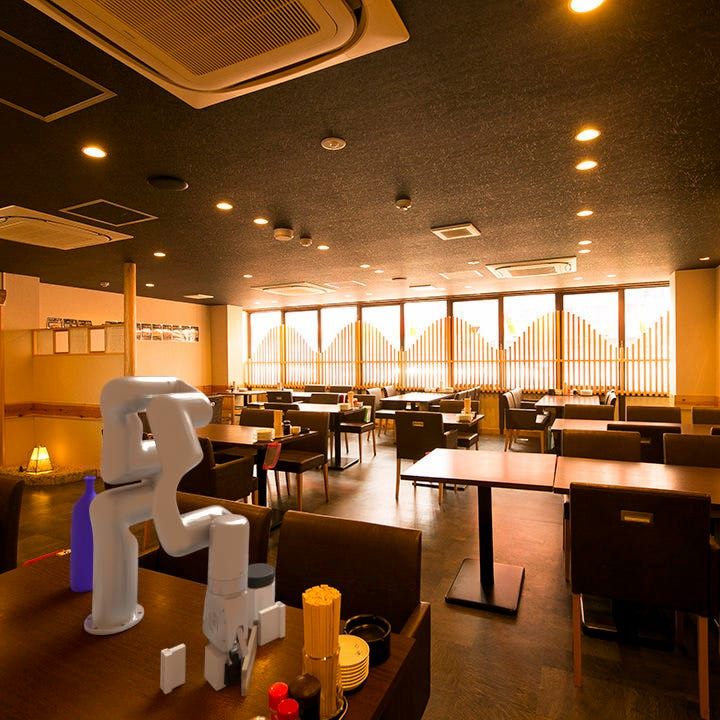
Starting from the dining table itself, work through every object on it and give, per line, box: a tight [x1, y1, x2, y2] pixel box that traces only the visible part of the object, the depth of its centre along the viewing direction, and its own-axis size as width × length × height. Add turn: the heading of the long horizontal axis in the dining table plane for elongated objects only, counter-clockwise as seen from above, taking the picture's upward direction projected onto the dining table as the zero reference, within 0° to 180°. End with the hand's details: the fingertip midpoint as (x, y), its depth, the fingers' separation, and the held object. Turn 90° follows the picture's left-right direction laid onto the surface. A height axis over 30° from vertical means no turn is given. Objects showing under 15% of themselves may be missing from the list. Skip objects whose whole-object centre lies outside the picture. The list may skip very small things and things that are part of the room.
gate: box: [240, 620, 259, 697], centre depth 93 cm, size 1×16×5 cm, turn 5°
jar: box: [246, 562, 276, 630], centre depth 111 cm, size 9×8×12 cm
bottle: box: [69, 475, 98, 593], centre depth 127 cm, size 8×8×30 cm
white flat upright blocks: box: [159, 601, 286, 695], centre depth 96 cm, size 2×27×7 cm, turn 134°
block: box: [204, 641, 245, 692], centre depth 89 cm, size 5×6×6 cm
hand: (224, 673), depth 89 cm, fingers closed on block, 5 cm apart
